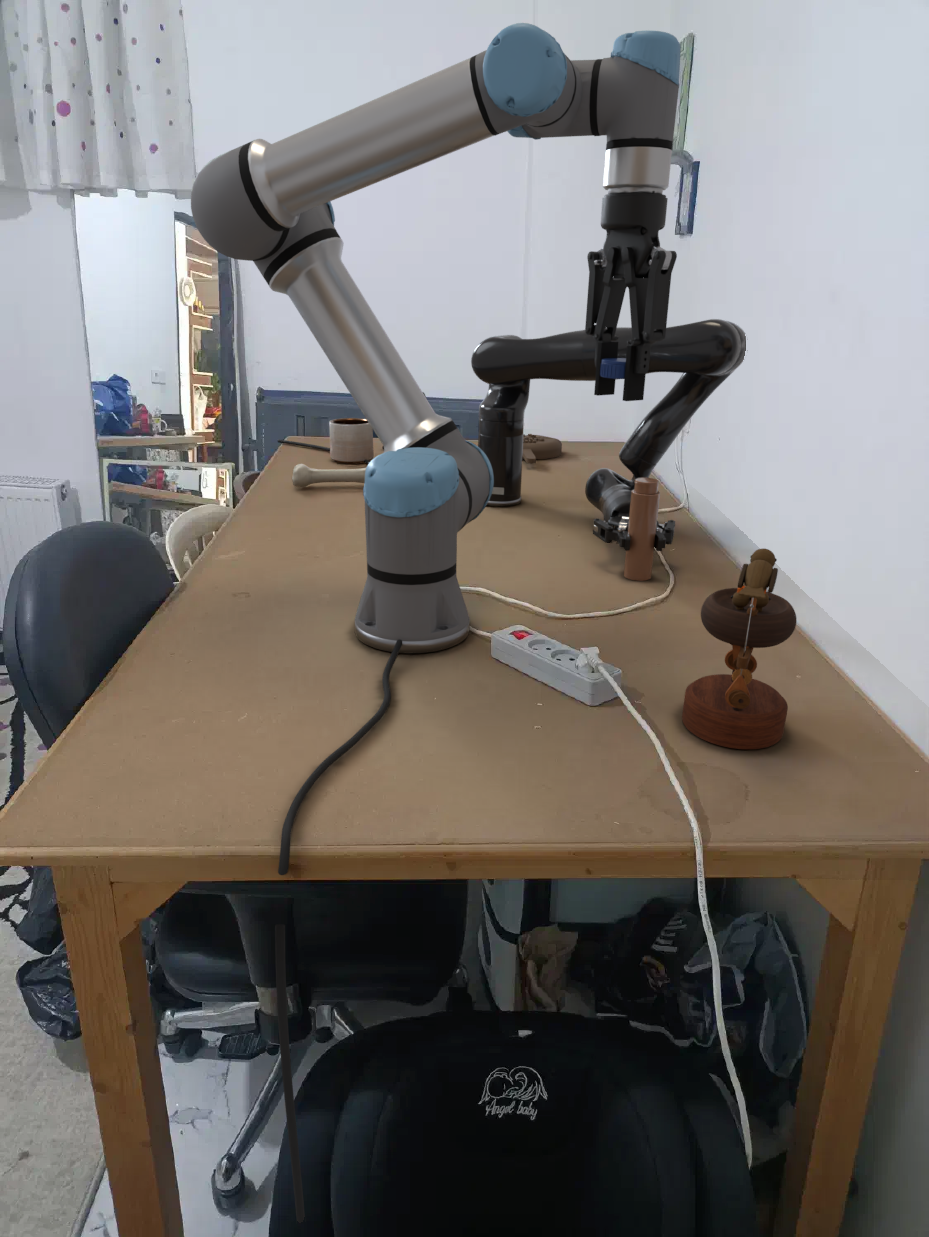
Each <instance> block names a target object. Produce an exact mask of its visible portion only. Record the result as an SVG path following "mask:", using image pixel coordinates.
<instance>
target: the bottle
mask: <svg viewBox="0 0 929 1237" xmlns="http://www.w3.org/2000/svg"><path fill="white" fill-rule="evenodd" d="M659 482H660V481H659V480H658V479H657V478H653V477H649V478H637V479H635V481H634V483H635V487H634V490H632V491H631V501H630V511H629V522H628V534H629V536H630V538H631V540H630V550H629V551H625V557H624V566H623V577H624V578H626V579H628V580H630V581H637V582H638V581H641V582H642V581H648V580H650V579H652V575H653V574H652V573H653V565H654V557H655V556H654V555H655V537H656V528H657V521H658V517H659V507H660V497H661V492H660V491H659Z"/></svg>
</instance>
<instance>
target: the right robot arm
mask: <svg viewBox="0 0 929 1237" xmlns="http://www.w3.org/2000/svg"><path fill="white" fill-rule="evenodd" d="M606 329H607V327H606ZM655 330H656V329H655ZM643 332H644V331H643ZM643 332H642V334H643ZM745 334H746V332H745V331H744V329H743V328H742V327H741V326H740V325H739V324H737V323H735V322H732V321H729V320H726V319H725V320H724V319H720V318H718V319H717V318H711V319H710V318H709V319H705V320H700V321H695V322H690V323H686V324H680V325H674V326H666V335H665V339H664V340H662V341H657V342H655V343H653V345H652V346H651V350H650V360H649V370H648V372H647V373H646V375H647V374H648V375H649V374H653V373H677V374H678V373H679V374H681V376H680V377H679V378H678V380H677V381H676V383H675V384H674V385H673V386H672V387H671V389H670V390H669V391H668V392H667V393H666V394H665V395H664V396H663V397H662V398H661V399H660V401H659V402H657V403H656V404H655V405H654V407H653V408H651V410H649V411H648V413H647V414H646V415H645V416H644V417H643V418H642V419H641V421H640V422H639V424H638V425H637V426H636V427H635V429H634V431H632V433H631V435H630V436H629V437H628V438H627V440H626V442H625V443H624V444H623V446H622V447H621V448H620V450H619V453H618V459H619V461H620V462H621V464H623V466H625V468H626V469H628V471H630V473H631V475H632V478H631V479H628V478H626V477H624V476H623V475H621V474H619V473H617V472H616V471H614V470H612V469H610V468H608V467H601V468H598V469H596V470H594V471H593V472H592V473H591V474H590V475H589V477H588V478H587V480H586V483H585V488H584V492H585V493H584V494H585V497H586V499H587V501H588V502H589V503H590V504H591V505H593V507H595V508H596V509H597V510H598V511H600V512H601V513H602V516H603V520H602V519H600V518H599V517H598V518H593V524H592V535H594V536H595V537H597V538H598V539H599V540H601V541H602V542H603V543H604V544H613V542H615V544H616V545H617V546H619V548H621V549H623V550H624V552H626V551H629V550H630V540H631V538H630V536H629V534H628V522H629V511H630V501H631V491H632V490H634V487H635V483H634V481H635V479H637V478H650V476H651V474H652V472H653V470H654V469H655V468H656V466H657V464H658V463H659V462H660V461H661V459H662V458H663V457H664V456H665V453H666V452H668V450H669V448H670V447H671V446H672V445H673V443H674V442H675V440H676V439H677V437H678V436H679V434H680V433H681V432H682V431H683V429H684V428H685V427H686V425H687V423H688V422H690V420H691V419H692V418H693V416H694V415H695V413H696V412H697V411H698V410H699V408H700V407H701V406H702V405H703V404H704V403H705V402H706V401H707V399H708V398H709V397H710V396H711V395H712V394H714V392H715V391H716V390H717V389H718V388H719V387H720V386H721V384H723V382H725V381H726V380H727V379H728V378H729V377H730V376H731V375H732V374H733V373H734V372H735V371H736V370H737V369H738V368H739V367H740V366H741V365H742V363H743V362H744V361H745V359H744V356H745V351H746V336H747V335H746V336H745ZM615 335H616V336H617V337H619V338H618V340H616V341H611V342H618V354H617V358H626V354H627V346H630V345H629V344H628V341H632V327H629V326H627V327H626V326H625V327H623V326H619V327H618V326H617V328H616V332H615ZM595 352H596V341H595V340H594V337H593V336H591V335H587V334H586V332H585V329H579V330H573V331H568V332H563V333H558V334H553V335H549V336H543V337H539V338H522V337H520V336H518V335H515V334H503V335H495V336H489V337H487V338H485V339H483V340H482V341H480V342H479V343H478V344H477V345H476V347H475V348H474V349H473V352H472V354H471V359H470V364H471V369H472V371H473V373H474V374H475V376H476V377H477V378H478V379H479V380H480V381H482V382H483V383H485V384H487V385H488V389H487V393H486V395H485V397H484V398H483V400H482V401H481V402H480V404H479V406H478V426H477V427H478V430H477V434H478V435H477V441H478V442H477V446H478V447H479V448H480V449H481V450H482V451H483V452H484V453H485V454H486V456H487V457H488V459H489V461H490V464H491V466H492V470H493V476H494V485H493V491H492V494H491V497H490V499H489V501H488V503H487V504H486V506H491V507H511V506H516V505H519V504H521V502H522V478H523V477H522V476H523V459H522V455H523V434H524V430H525V429H524V423H525V411H526V408H527V407H528V403H529V399H530V398H529V397H530V389H531V380H551V381H552V380H554V381H569V382H573V381H574V382H582V381H583V382H595V377H596V367H595V355H596V354H595ZM743 360H744V361H743ZM616 380H618V379H615V381H616ZM277 443H279V444H285V445H292V446H299V447H305V448H311V449H316V450H321V451H325V452H330V447H327V446H322V445H316V444H311V443H305V442H299V441H293V440H286V439H281V438H279V439H278V438H277ZM370 461H371V460H370ZM370 461H369V460H366V459H365V460H364V462H363V463H364V464H366V465H368V464H369V462H370ZM675 529H676V520H673V519H670V520H667V521H664V523H660V522H659V521H658V520H657V528H656V537H655V547H654V550H655V551H656V552H663V550H664V549H666V547H667V546H668V545H672V544H673V540H674V537H675ZM666 545H667V546H666Z"/></svg>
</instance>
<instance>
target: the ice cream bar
mask: <svg viewBox="0 0 929 1237" xmlns="http://www.w3.org/2000/svg"><path fill="white" fill-rule="evenodd" d="M562 452H563V443H562V441H561V440H560V439H558V438H555V437H552V436H551V437H550V436H545V435H540V434H532V433H528V434H525V433H523V455H522V460H524V461H525V463H526V464H536V461H537V460H546V459H554V458H557V457H560V456H561V455H562Z"/></svg>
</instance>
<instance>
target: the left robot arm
mask: <svg viewBox="0 0 929 1237" xmlns="http://www.w3.org/2000/svg"><path fill="white" fill-rule="evenodd" d="M681 48H682V47H681V43H680V42H679V39H678V38H677V37H676V36H675V35H673V34H671V33H670V32H667V31H662V30H661V31H660V30H636V31H634V32H626V33H622V34H621V35H619V36H618V37H616V38H615V39H614V42H613V46H612V51H611V52H610V57H603V58H597V59H577V60H576V59H570V58H569V57H568V56H567V55H566V54H565V52H564V51H563V49H562V47H561V45H560V43H559V42H558V41H557V39H556V37H554V36H552V35H551V34H550V33H549V32H547V31H546V30H545V29H542V28H541V27H539V26H538V25H535V24H532V23H528V22H518V23H513V24H511V25H508V26H506V27H504V28H503V29H501V30H500V31H499V32H498V33H497V34H496V35H495V36H494V37H493V38H492V40H491V42H490V43H489V45H488V46H487V49H485V50H482V51H481V52H479V53H476V54H475V55H473V56H471V57H469V58H466V59H465V60H462V61H459V62H457V63H455V64H453V65H451V66H448V67H446V68H444V69H441V70H438V71H437V72H434V73H432V74H430V75H428V76H425V77H423V78H421V79H418V80H416V81H414V82H411V83H409V84H406V85H405V86H402V87H400V88H398V89H394V90H393V91H390V92H388V93H385V94H383V95H381V96H379V97H377V98H374V99H372V100H369V101H368V102H365V103H363V104H360V105H358V106H356V107H354V108H351V109H349V110H347V111H344V112H342V113H340V114H338V115H337V114H336V115H335V116H333V117H331V118H328V119H326V120H324V121H322V122H319V123H317V124H315V125H312V126H310V127H307V128H305V129H303V130H301V131H298V132H296V133H294V134H291V135H289V136H287V137H284V138H282V139H280V140H278V141H275V142H273V143H271V142H269V141H268V140H265V139H263V138H257V139H253V140H251V141H249V142H247V143H245V144H243V145H240V146H238V147H236V148H234V149H231V150H229V151H226V152H224V153H222V154H220V155H218V156H216V157H214V158H212V159H211V160H210V161H208V162H207V163H206V164H205V165H203V167H202V168H201V169H200V170H199V172H198V173H197V175H196V177H195V179H194V181H193V183H192V187H191V191H190V210H191V215H192V220H193V221H194V224H195V227H196V229H197V231H198V232H199V234H200V235H201V237H202V238H203V240H204V241H205V242H206V243H207V244H208V245H209V246H210V247H211V248H212V249H214V250H215V251H216V252H218V253H219V254H220V255H223V256H225V257H228V258H231V259H234V260H236V261H237V260H240V261H249V262H253V264H254V265H255V267H256V269H257V270H258V271H259V273H260V274H261V277H263V279H264V280H265V282H266V284H267V285H268V287H269V288H270V290H271V291H273V292H276V293H280V294H284V295H286V296H288V298H289V299H290V301H292V304H293V305H294V307H295V308H296V310H297V311H298V313H299V315H300V316H301V318H302V320H303V321H304V322H305V325H306V326H307V327H308V329H309V331H310V332H311V334H312V335H313V337H314V339H315V340H316V342H317V343H318V345H319V347H320V348H321V350H322V351H323V353H324V354H325V356H326V358H327V359H328V361H329V363H330V364H331V366H332V367H333V369H334V370H335V372H336V374H337V375H338V376H339V378H340V380H341V382H342V383H343V384H344V386H345V387H346V389H347V391H348V392H349V394H350V395H351V397H352V399H353V400H354V402H355V404H356V405H357V407H358V408H359V409H360V411H361V414H362V415H363V416H364V418H365V419H367V421H368V422H369V424H370V425H371V427H372V428H373V433H375V435H376V436H377V438H378V440H379V441H380V443H381V444H382V447H384V449H383V452H382V453H380V454H378V455H376V456H375V457H373V459H372V460H370V462H369V464H367V466H366V467H367V468H366V467H365V468H366V471H365V483H363V489H362V493H363V499H364V520H365V545H366V546H365V548H366V549H365V550H366V579H365V584H364V586H363V589H362V592H361V596H360V600H359V602H358V606H357V609H356V612H355V617H354V633H355V636H356V638H357V639H358V640H359V641H360V642H362V643H363V644H365V645H367V646H368V647H371V648H374V649H377V650H380V651H384V652H390V656H389V658H388V660H387V662H386V664H385V666H384V669H383V673H382V677H381V678H382V680H381V683H382V690H383V700H382V702H381V705H380V707H379V708H378V710H377V711H376V713H374V715H373V716H372V717H371V718H370V719H369V720H368V721H367V722H366V723H365V724H364V725H363V726H362V727H361V728H360V729H359V730H358V731H356V733H355V734H354V735H352V736H351V737H350V738H349V739H348V740H347V741H346V742H344V743H343V744H342V745H341V746H339V747H338V748H337V749H335V750H334V751H333V752H332V753H331V754H329V756H327V757H326V758H325V759H324V760H322V762H321V763H320V764H319V765H318V766H317V767H316V768H315V769H314V770H313V772H312V773H311V774H310V775H309V777H307V779H306V780H305V781H304V783H303V784H302V786H301V787H300V788H299V790H298V792H297V793H296V794H295V796H294V798H293V800H292V802H291V804H290V807H289V809H288V811H287V813H286V816H285V819H284V821H283V824H282V829H281V838H280V850H279V861H278V869H277V873H278V875H280V876H284V875H287V873H288V872H289V868H290V867H289V865H290V856H291V842H292V831H293V826H294V822H295V820H296V817H297V814H298V812H299V810H300V807H301V805H302V803H303V801H304V799H305V798H306V796H307V794H308V793H309V791H310V790H311V789H312V787H313V786H314V784H315V783H316V782H317V781H318V780H319V779H320V777H321V776H322V775H323V774H324V773H325V771H326V770H327V769H328V768H330V767H331V765H332V764H334V763H335V762H336V761H337V760H338V759H340V758H341V757H342V756H344V754H346V753H347V752H348V751H349V750H351V749H352V748H353V747H354V746H356V745H357V744H358V743H359V741H361V740H362V738H364V736H366V735H367V734H368V732H370V731H371V730H372V729H373V728H374V727H375V726H376V725H377V724H378V723H379V721H380V720H381V719H382V718H383V717H384V715H385V714H386V712H387V711H388V709H389V706H390V704H391V700H392V691H391V687H390V686H391V685H390V676H391V672H392V669H393V666H394V665H395V662H396V660H397V657H398V655H399V654H425V653H433V652H439V651H443V650H446V649H449V648H452V647H455V646H457V645H458V644H460V643H462V642H463V641H464V640H466V639H467V637H468V636H469V634H470V615H469V612H468V608H467V606H466V601H465V599H464V596H463V593H462V589H461V586H460V583H459V581H458V577H457V561H458V560H457V559H458V558H457V557H458V556H457V554H458V552H457V551H458V533H459V532H460V531H461V530H462V529H464V527H466V525H468V524H470V523H471V522H472V521H474V520H476V519H477V518H478V517H479V516H480V515H481V513H482V512H483V511H484V510H485V508H486V506H487V505H486V504H487V503H488V501H489V499H490V497H491V494H492V491H493V485H494V476H493V470H492V466H491V464H490V461H489V459H488V457H487V456H486V454H485V453H484V452H483V451H482V450H481V449H480V448H479V447H478V444H475V443H474V442H472V441H469V440H467V439H465V437H464V436H463V435H462V433H461V431H460V430H459V428H458V426H457V425H456V424H455V423H456V422H454V420H453V419H452V418H451V417H448V416H444V415H441V414H437V413H436V412H435V410H434V408H433V407H432V405H431V404H430V402H429V400H428V398H427V396H426V395H425V396H426V397H425V396H424V394H425V393H424V394H423V392H424V391H422V389H421V388H420V385H419V384H418V382H417V380H415V378H414V376H413V374H412V373H411V371H410V370H409V368H408V366H407V364H406V363H405V361H404V360H403V358H402V356H401V355H400V353H399V351H398V350H397V348H396V347H395V345H394V344H393V342H392V340H391V338H390V337H389V335H388V333H387V332H386V331H385V329H384V328H383V326H382V324H381V322H380V321H379V319H378V318H377V316H376V314H375V312H374V311H373V309H372V307H371V306H370V305H369V303H368V301H367V300H366V298H365V296H364V295H363V293H362V292H361V290H360V288H359V286H358V285H357V283H356V282H355V280H354V279H353V277H352V275H351V274H350V272H349V271H348V268H347V267H346V266H345V263H344V262H343V260H342V255H343V250H344V241H343V239H342V237H341V236H340V234H339V232H338V231H337V229H336V227H335V221H336V217H335V211H334V207H333V204H332V203H331V202H332V201H335V200H337V199H339V198H342V197H345V196H347V195H349V194H353V193H355V192H357V191H359V190H363V189H364V188H367V187H369V186H373V185H374V184H377V183H379V182H382V181H384V180H388V179H389V178H392V177H395V176H398V175H400V174H402V173H405V172H407V171H409V170H412V169H414V168H417V167H419V166H422V165H424V164H427V163H429V162H432V161H434V160H437V159H440V158H442V157H445V156H447V155H449V154H452V153H454V152H458V151H459V150H462V149H464V148H467V147H469V146H472V145H475V144H476V143H479V142H483V141H485V140H486V139H489V138H492V137H494V136H498V135H501V134H503V133H506V132H507V133H508V135H510V136H512V137H513V138H522V139H523V138H526V139H533V140H541V139H544V138H545V139H549V138H567V137H570V138H571V137H590V136H594V137H601V136H606V145H605V156H604V165H603V166H604V169H603V177H602V178H603V179H602V188H603V190H605V191H607V194H605V195H603V197H602V198H601V199H602V200H601V213H600V214H601V215H600V227H601V229H603V230H605V231H606V235H605V240H604V242H603V245H602V248H600V249H599V250H597V251H591V250H590V251H589V252H588V253H587V257H586V259H587V265H588V272H589V273H588V285H587V286H588V287H587V299H586V300H587V301H586V312H585V314H586V315H585V326H584V328H585V329H584V330H585V332H586V334H587V335H591V336H593V337H594V340H595V341H596V352H595V354H596V355H595V367H596V377H595V381H594V394H593V395H594V396H611V395H612V396H613V395H615V391H616V390H615V389H616V380H615V379H612V378H604V377H601V376H600V368H601V363H602V359H605V358H617V354H618V342H611V341H616V340H618V338H619V337H617V336H616V335H615V332H616V328H617V327H618V323H619V319H620V315H621V310H622V307H623V302H624V298H625V294H626V290H627V288H628V296H629V298H628V299H629V311H630V325H631V327H632V341H628V344H629V345H630V346H627V354H626V366H625V377H624V379H623V389H622V401H623V402H634V401H636V402H637V401H644V396H645V384H646V375H647V374H646V373H647V372H648V370H649V360H650V350H651V346H652V345H653V343H655V342H657V341H662V340H664V339H665V335H666V328H667V323H668V315H669V314H668V312H669V303H670V293H671V284H672V283H671V282H672V273H673V271H674V270H673V269H674V267H675V264H676V261H677V257H678V254H677V252H676V250H666V249H665V248H663V247H661V241H660V238H659V231H661V230H663V229H664V228H665V227H666V220H667V209H668V200H669V199H668V197H667V195H666V194H663V192H664V191H666V190H667V189H668V188H669V187H670V186H669V184H670V173H671V165H672V164H671V163H672V153H673V143H674V135H675V125H676V118H677V117H676V116H677V108H678V99H679V98H678V97H679V91H680V70H681V67H680V66H681V52H682V50H681ZM606 328H607V329H606ZM655 329H656V330H655ZM643 331H644V332H643ZM642 332H643V334H642ZM426 398H427V399H426ZM274 926H275V927H274V941H275V942H274V945H275V954H274V955H275V986H276V988H275V989H276V1006H277V1024H278V1040H279V1051H280V1052H279V1053H280V1063H281V1064H280V1065H281V1074H282V1076H281V1077H282V1086H283V1097H284V1106H285V1107H284V1108H285V1116H286V1118H285V1119H286V1127H287V1135H288V1136H287V1138H288V1145H289V1146H288V1147H289V1155H290V1164H291V1172H292V1173H291V1174H292V1184H293V1185H292V1186H293V1194H294V1204H295V1205H294V1207H295V1216H296V1217H295V1218H296V1222H297V1221H298V1222H299V1223H301V1222H303V1220H304V1217H305V1218H306V1215H305V1214H306V1213H305V1203H304V1191H303V1190H304V1189H303V1180H302V1169H301V1159H300V1149H299V1138H298V1128H297V1119H296V1108H295V1099H294V1097H295V1096H294V1088H293V1087H294V1086H293V1085H294V1084H293V1075H292V1073H293V1072H292V1064H291V1063H292V1061H291V1050H290V1036H289V1034H290V1033H289V1019H288V1000H287V974H286V971H287V970H286V969H287V968H286V924H283V923H277V924H274Z"/></svg>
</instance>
